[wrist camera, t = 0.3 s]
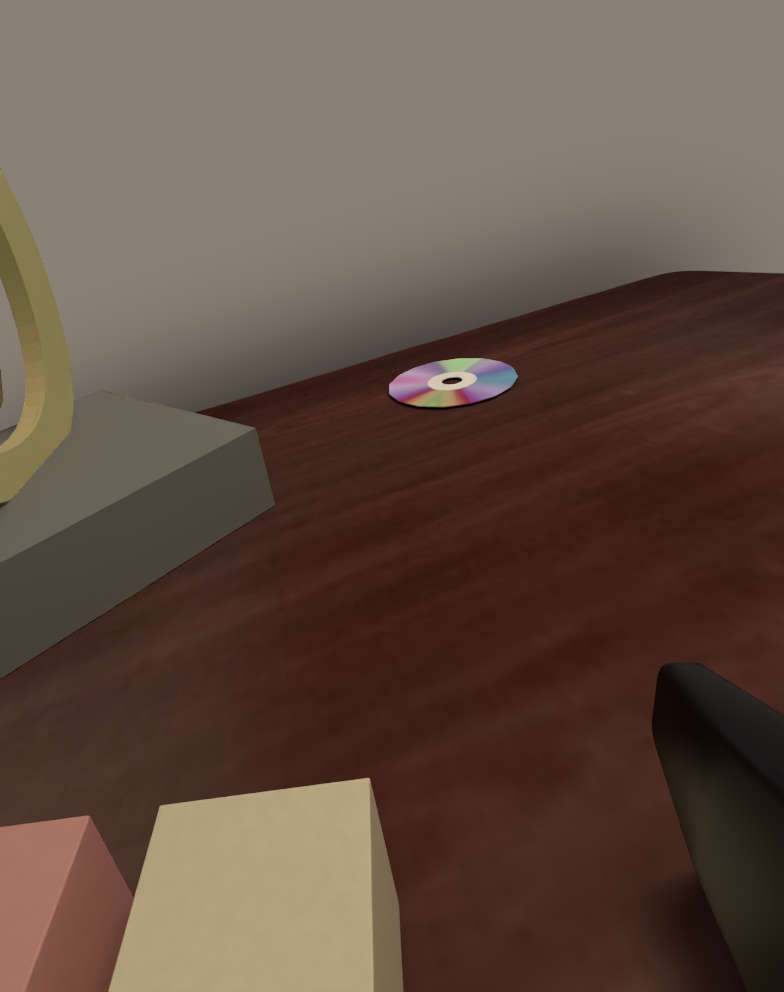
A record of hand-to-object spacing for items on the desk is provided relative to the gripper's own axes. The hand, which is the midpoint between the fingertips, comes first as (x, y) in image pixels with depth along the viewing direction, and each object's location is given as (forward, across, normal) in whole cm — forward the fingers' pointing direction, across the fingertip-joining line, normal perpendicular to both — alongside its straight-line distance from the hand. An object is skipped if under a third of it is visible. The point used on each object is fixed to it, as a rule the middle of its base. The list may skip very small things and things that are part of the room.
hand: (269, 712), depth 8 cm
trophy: (+36, +20, +15) cm, 44 cm away
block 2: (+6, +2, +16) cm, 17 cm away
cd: (+54, -7, +11) cm, 56 cm away
